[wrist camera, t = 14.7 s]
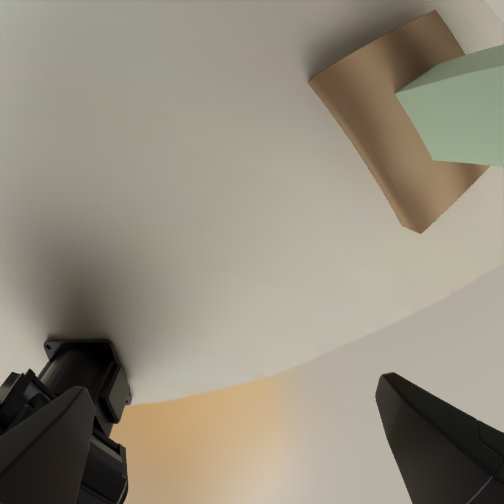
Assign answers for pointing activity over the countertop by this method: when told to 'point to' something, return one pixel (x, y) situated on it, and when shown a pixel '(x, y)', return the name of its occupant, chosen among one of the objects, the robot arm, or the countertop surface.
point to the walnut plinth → (397, 118)
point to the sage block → (460, 108)
